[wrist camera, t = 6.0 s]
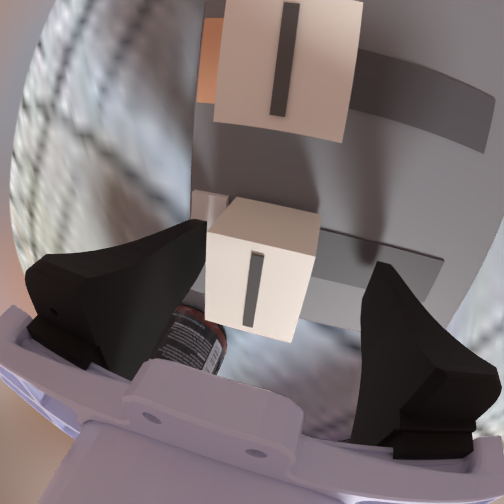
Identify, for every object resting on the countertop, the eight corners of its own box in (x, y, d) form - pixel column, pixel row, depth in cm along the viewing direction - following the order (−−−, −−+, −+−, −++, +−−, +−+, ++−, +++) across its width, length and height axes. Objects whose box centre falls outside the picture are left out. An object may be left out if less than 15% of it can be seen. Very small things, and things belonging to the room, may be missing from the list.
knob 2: (321, 214, 12) (315, 258, 9) (302, 292, 14) (290, 344, 11) (236, 196, 12) (205, 233, 10) (229, 274, 14) (203, 321, 12)
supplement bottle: (199, 366, 23) (140, 484, 14) (143, 320, 22) (63, 434, 13) (247, 343, 20) (186, 494, 11) (182, 286, 19) (82, 432, 10)
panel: (512, -47, 3) (531, -57, 1) (428, 321, 16) (434, 349, 14) (244, -113, 5) (230, -133, 4) (204, 269, 18) (188, 293, 16)
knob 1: (355, 26, 8) (363, 1, 5) (339, 128, 10) (341, 144, 7) (257, 13, 8) (226, -12, 5) (245, 111, 10) (211, 122, 8)
